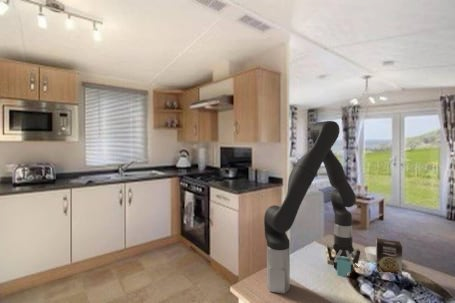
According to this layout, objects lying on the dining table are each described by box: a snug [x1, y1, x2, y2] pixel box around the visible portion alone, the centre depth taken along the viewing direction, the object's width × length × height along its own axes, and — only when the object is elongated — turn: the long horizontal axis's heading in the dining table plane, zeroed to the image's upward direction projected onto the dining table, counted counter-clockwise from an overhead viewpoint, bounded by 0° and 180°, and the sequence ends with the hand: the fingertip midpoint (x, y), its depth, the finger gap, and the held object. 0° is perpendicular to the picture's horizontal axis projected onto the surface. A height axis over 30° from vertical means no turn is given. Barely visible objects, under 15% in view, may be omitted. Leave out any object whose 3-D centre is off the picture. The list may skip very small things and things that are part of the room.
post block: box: [324, 245, 354, 265], centre depth 123 cm, size 16×12×8 cm
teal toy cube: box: [335, 256, 352, 277], centre depth 108 cm, size 5×5×7 cm
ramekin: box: [364, 246, 376, 263], centre depth 119 cm, size 11×11×5 cm
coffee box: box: [375, 237, 403, 276], centre depth 104 cm, size 9×6×16 cm
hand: (343, 270), depth 108 cm, fingers closed on teal toy cube, 5 cm apart
